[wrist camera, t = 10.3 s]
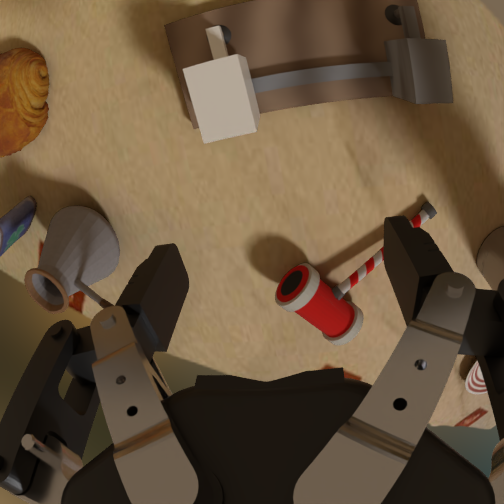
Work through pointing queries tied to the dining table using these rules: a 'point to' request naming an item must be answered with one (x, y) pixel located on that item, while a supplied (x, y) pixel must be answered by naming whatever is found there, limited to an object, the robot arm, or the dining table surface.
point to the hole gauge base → (321, 51)
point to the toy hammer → (331, 294)
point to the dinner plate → (475, 380)
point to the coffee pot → (73, 258)
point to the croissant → (22, 98)
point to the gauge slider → (222, 92)
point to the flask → (16, 223)
